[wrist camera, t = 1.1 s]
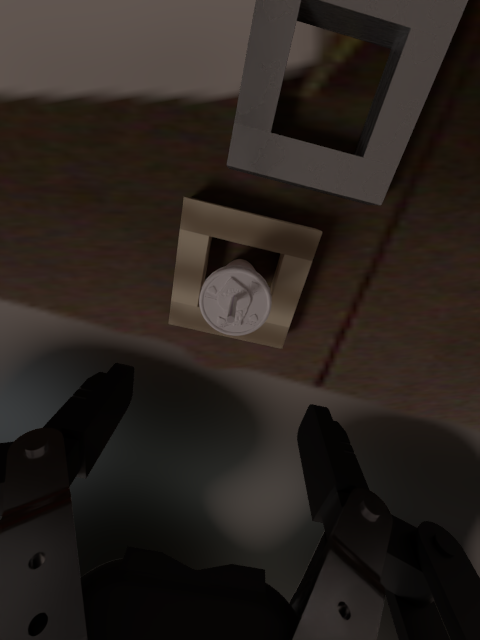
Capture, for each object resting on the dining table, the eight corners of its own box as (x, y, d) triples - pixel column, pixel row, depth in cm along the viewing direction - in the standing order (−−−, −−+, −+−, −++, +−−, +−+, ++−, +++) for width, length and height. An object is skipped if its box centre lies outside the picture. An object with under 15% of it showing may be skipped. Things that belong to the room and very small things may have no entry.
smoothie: (264, 244, 29) (273, 278, 17) (268, 297, 32) (279, 361, 19) (209, 250, 30) (177, 288, 17) (217, 302, 33) (196, 367, 20)
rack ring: (268, -49, 20) (271, -88, 17) (448, 7, 21) (477, -22, 18) (229, 168, 26) (226, 165, 24) (368, 204, 27) (381, 205, 25)
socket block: (190, 197, 28) (184, 197, 25) (315, 228, 29) (322, 231, 26) (175, 313, 34) (168, 323, 31) (279, 336, 34) (281, 348, 32)
